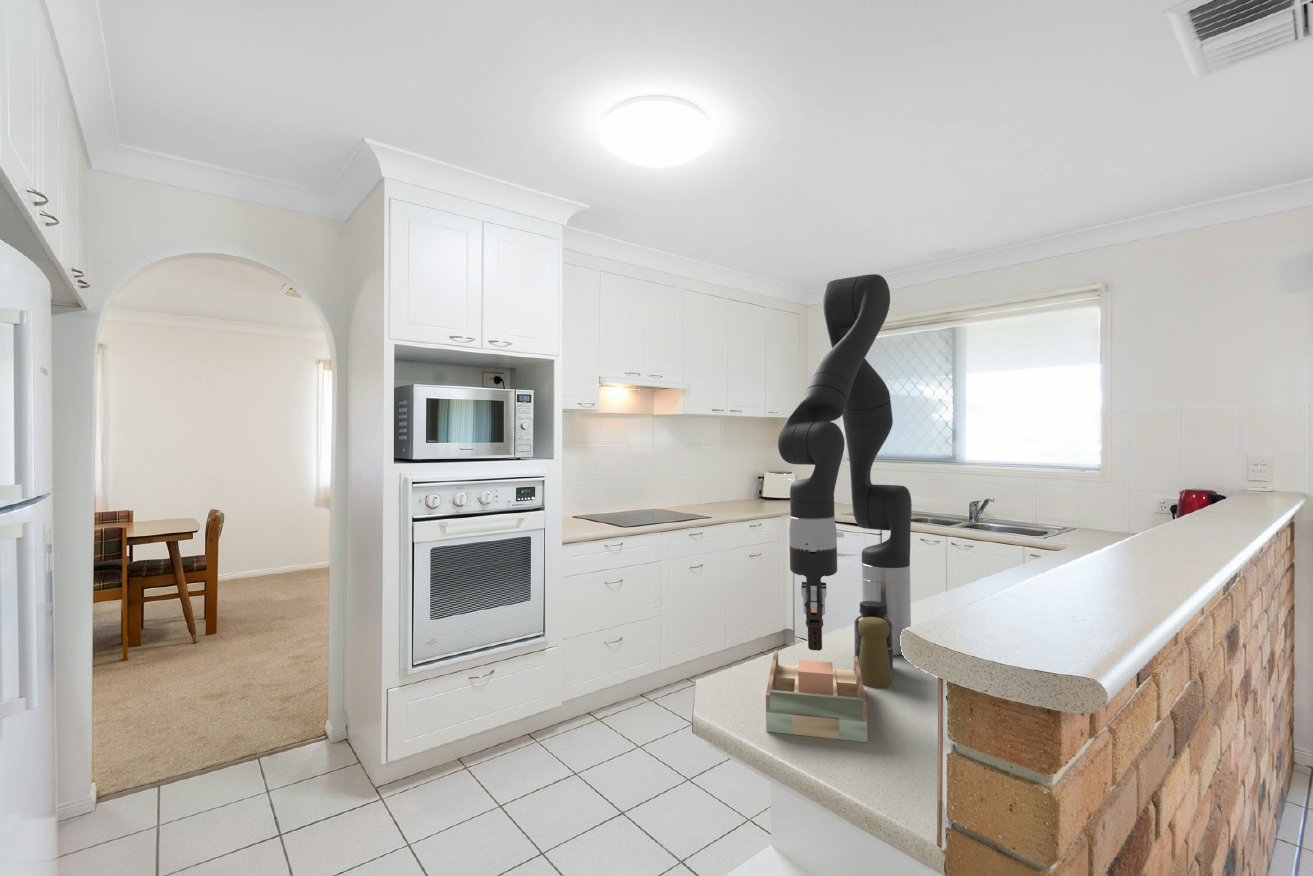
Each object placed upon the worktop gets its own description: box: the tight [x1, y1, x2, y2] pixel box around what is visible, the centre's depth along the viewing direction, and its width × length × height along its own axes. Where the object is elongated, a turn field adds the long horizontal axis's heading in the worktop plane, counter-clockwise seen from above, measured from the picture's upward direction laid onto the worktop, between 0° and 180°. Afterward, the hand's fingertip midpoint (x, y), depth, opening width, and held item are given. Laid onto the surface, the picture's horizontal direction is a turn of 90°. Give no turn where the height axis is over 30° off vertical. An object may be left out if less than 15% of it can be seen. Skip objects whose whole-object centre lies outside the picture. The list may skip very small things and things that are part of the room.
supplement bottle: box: [853, 601, 894, 672], centre depth 114 cm, size 7×7×12 cm
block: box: [798, 659, 834, 695], centre depth 93 cm, size 5×5×5 cm
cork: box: [858, 617, 894, 689], centre depth 108 cm, size 6×6×11 cm
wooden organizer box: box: [765, 649, 868, 743], centre depth 98 cm, size 20×14×6 cm
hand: (815, 648), depth 101 cm, fingers closed
